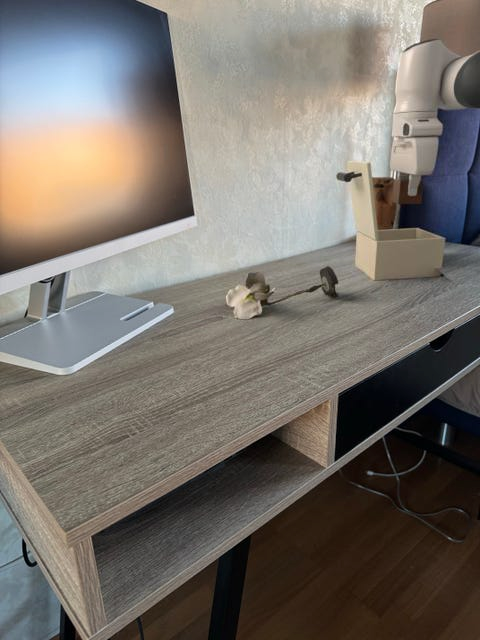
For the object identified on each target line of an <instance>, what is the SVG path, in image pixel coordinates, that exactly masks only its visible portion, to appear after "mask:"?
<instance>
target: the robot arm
mask: <svg viewBox="0 0 480 640" xmlns="http://www.w3.org/2000/svg"><path fill="white" fill-rule="evenodd" d="M394 89H395V91H394V93H395V99H396V101H395V102H396V103H395V106H394V109H393V112H392V113H393V116H392V127H391V138H394V139H393V140H392V144H391V153H390V159H389V169H390V171H392V172H397V179H410V180H409V185H408V187H407V195H409V196H415V195H416V194H417V187H418V185H419V183H420V180H422V176H431V175H432V174H433V172H434V169H435V167H436V164H437V163H436V162H437V157H438V150H439V142H440V141H439V136H442V134H443V129H444V127H443V126H444V124H443V123H442V122H441V121H440V120H439V118H438V110H439V109H441V110H444V111H455V110H466V109H480V50H477V51H476V52H474V53H472V54H470V55H466V56H462V55H459V54H457V53H455V52H453V51H452V50H450V49H449V48H448V47H447V46H445V45H444V43H443V41H442V40H441V39H439V38H430V39H426V40H422V41H419V42H416V43H413V44H411V45H409V46H408V47H406V48H405V49H404V50H403V51H402V52H401V55H400V58H399V62H398V67H397V73H396V78H395V88H394Z"/></svg>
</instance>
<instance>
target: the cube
mask: <svg viewBox="0 0 480 640" xmlns="http://www.w3.org/2000/svg"><path fill="white" fill-rule="evenodd" d="M409 180H410V179H409V178H408V179H398V178H394V188H393V199H392V202H395V203H397V205H417V204H422V197H423V188H424V179H421V180H420V183H419V185H418V187H417V194H416V195H415V196H409V195H407V187H408V185H409Z"/></svg>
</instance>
